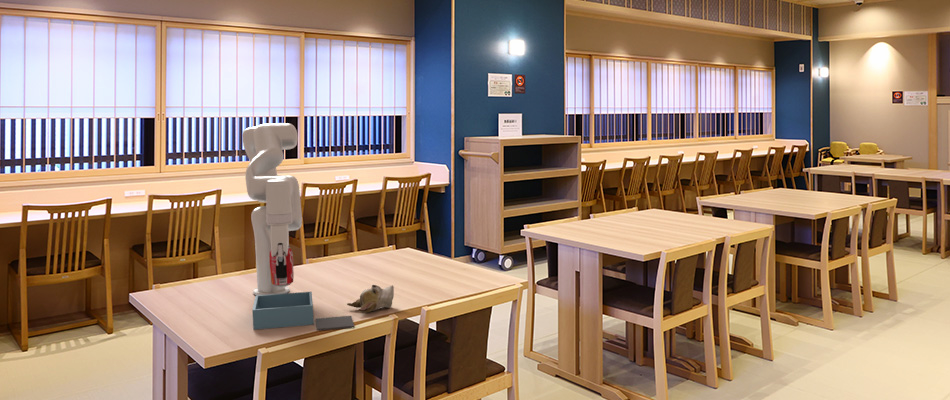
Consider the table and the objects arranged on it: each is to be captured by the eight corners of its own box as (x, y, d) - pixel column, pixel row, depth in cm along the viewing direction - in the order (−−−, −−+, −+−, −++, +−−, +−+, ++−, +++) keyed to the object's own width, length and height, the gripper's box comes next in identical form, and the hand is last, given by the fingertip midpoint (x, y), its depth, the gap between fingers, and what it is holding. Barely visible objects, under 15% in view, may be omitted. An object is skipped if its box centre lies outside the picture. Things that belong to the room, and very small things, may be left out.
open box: (256, 313, 223) (255, 295, 222) (312, 309, 227) (311, 291, 226) (253, 329, 206) (252, 310, 205) (313, 324, 210) (312, 305, 209)
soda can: (286, 280, 221) (285, 243, 219) (298, 284, 216) (296, 247, 214) (266, 284, 216) (264, 246, 214) (277, 288, 211) (276, 250, 209)
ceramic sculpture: (400, 283, 224) (357, 293, 216) (402, 309, 225) (359, 319, 217) (385, 277, 233) (344, 286, 225) (388, 302, 234) (346, 312, 226)
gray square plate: (315, 320, 214) (315, 318, 214) (351, 317, 217) (351, 315, 217) (316, 330, 204) (316, 328, 204) (354, 327, 206) (354, 325, 206)
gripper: (267, 214, 220) (270, 268, 223) (265, 224, 203) (268, 282, 206) (292, 213, 222) (294, 267, 225) (292, 223, 205) (294, 281, 208)
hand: (281, 274), depth 215 cm, fingers closed on soda can, 7 cm apart
